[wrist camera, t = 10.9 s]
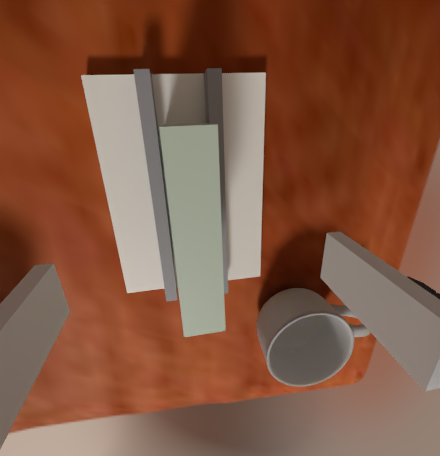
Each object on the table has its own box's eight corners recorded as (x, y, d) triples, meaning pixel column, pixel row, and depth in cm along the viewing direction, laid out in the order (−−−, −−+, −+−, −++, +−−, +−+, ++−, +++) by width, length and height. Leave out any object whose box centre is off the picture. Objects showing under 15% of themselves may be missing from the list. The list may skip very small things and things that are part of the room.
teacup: (250, 343, 39) (268, 395, 31) (247, 282, 34) (267, 326, 27) (337, 326, 40) (373, 372, 33) (345, 266, 36) (388, 303, 29)
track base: (86, 77, 23) (70, 69, 19) (260, 75, 25) (275, 67, 22) (129, 285, 31) (123, 307, 28) (256, 269, 34) (266, 288, 30)
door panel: (165, 124, 24) (159, 126, 13) (197, 122, 24) (217, 124, 14) (179, 256, 29) (184, 337, 19) (206, 253, 30) (225, 330, 19)
